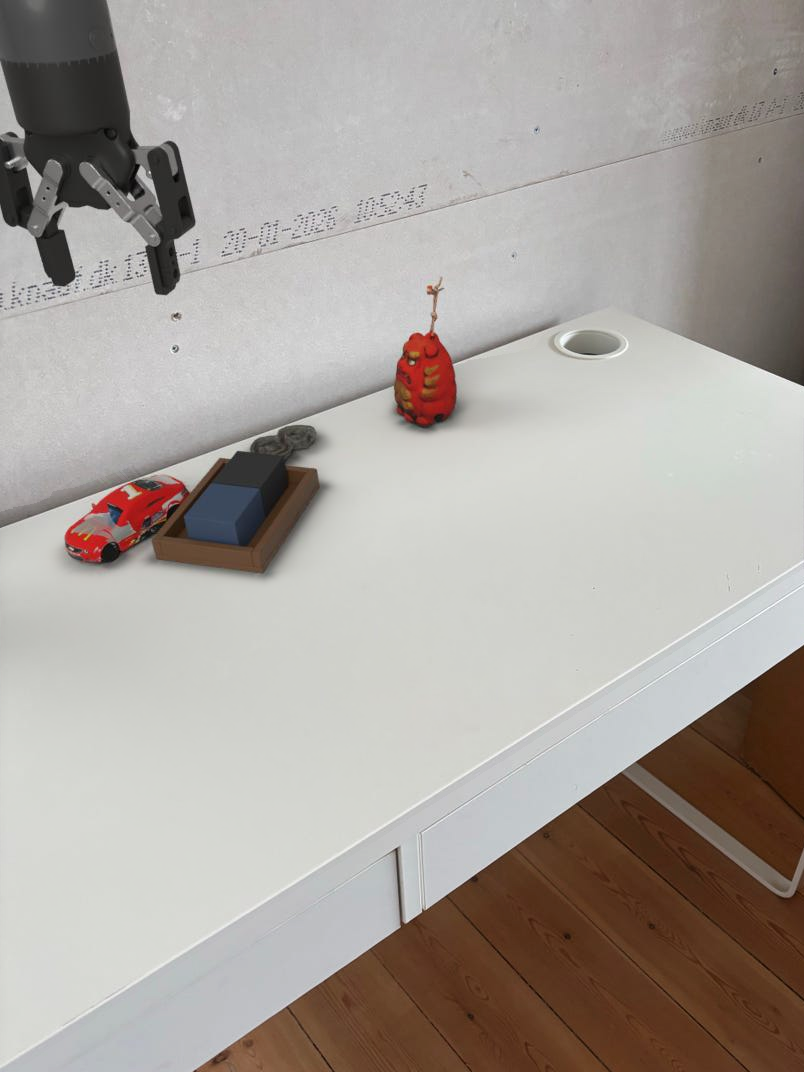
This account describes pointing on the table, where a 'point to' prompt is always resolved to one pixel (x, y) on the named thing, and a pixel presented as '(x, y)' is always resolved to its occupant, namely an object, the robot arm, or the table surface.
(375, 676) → the table surface
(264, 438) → the corroded twin loop
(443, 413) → the red clay folk toy
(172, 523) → the brown tray
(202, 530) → the blue block
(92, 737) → the table surface
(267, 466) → the black block
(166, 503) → the race car
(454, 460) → the table surface
